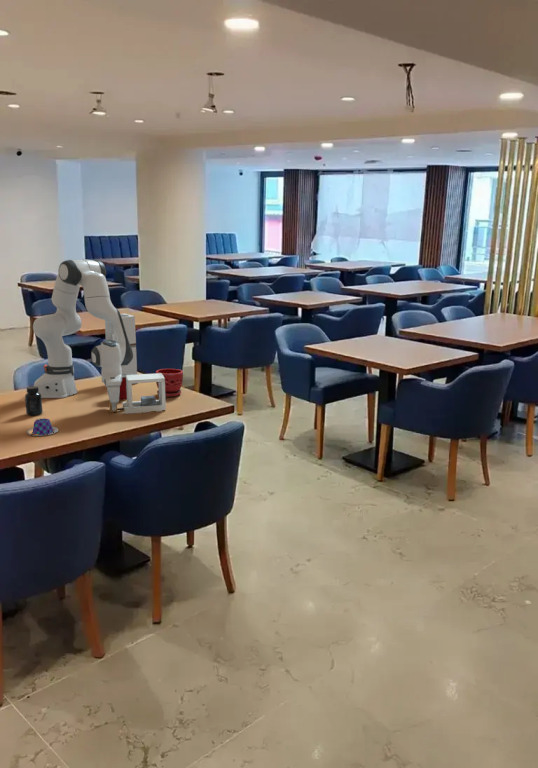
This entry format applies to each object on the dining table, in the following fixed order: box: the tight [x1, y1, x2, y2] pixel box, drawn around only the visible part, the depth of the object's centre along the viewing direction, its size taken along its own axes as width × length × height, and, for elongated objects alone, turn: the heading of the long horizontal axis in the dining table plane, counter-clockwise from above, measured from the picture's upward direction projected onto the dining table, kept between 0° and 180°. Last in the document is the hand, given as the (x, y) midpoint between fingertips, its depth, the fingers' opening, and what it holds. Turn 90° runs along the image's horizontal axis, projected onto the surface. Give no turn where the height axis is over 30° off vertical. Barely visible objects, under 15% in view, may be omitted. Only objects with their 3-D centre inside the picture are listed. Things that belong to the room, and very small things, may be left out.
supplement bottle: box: [24, 385, 43, 417], centre depth 301 cm, size 7×7×12 cm
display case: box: [104, 313, 138, 385], centre depth 352 cm, size 11×11×35 cm
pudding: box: [26, 417, 59, 437], centre depth 278 cm, size 12×12×5 cm
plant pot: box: [155, 368, 184, 398], centre depth 334 cm, size 13×13×12 cm
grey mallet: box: [109, 395, 157, 413], centre depth 309 cm, size 20×6×5 cm, turn 107°
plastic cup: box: [119, 373, 133, 401], centre depth 327 cm, size 11×11×12 cm
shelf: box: [122, 372, 167, 415], centre depth 309 cm, size 18×10×15 cm, turn 107°
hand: (113, 407), depth 307 cm, fingers open, 6 cm apart
